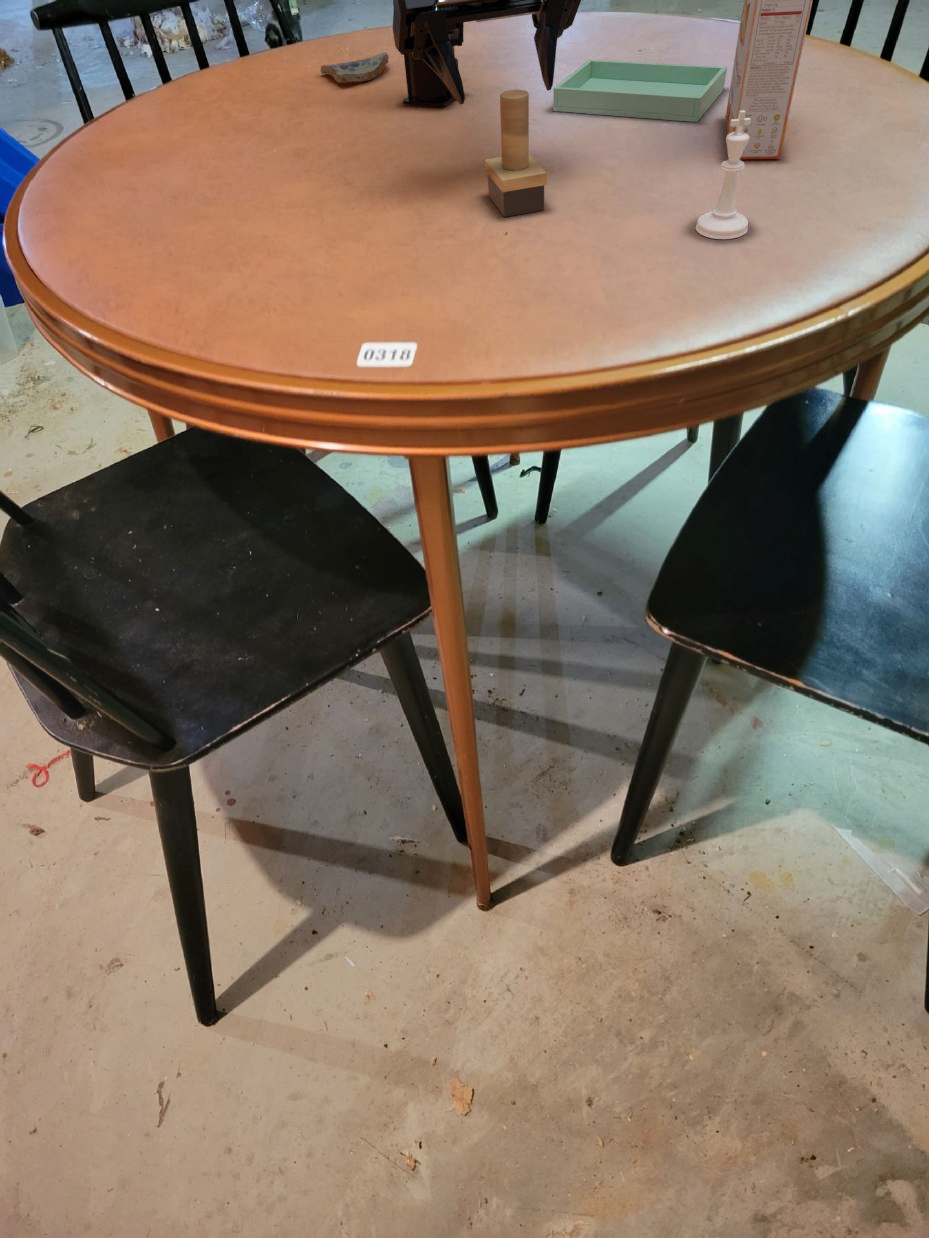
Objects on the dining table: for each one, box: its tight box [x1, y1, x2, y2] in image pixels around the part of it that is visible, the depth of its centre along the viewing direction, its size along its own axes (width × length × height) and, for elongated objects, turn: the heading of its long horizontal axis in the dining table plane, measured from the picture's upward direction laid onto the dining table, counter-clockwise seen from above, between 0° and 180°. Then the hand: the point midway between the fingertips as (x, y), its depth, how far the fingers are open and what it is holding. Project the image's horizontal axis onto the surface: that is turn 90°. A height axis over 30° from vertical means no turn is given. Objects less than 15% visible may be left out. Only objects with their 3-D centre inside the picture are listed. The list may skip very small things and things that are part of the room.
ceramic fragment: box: [319, 52, 390, 84], centre depth 118 cm, size 11×3×10 cm
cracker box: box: [725, 0, 813, 161], centre depth 83 cm, size 14×6×21 cm, turn 169°
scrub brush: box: [484, 89, 548, 218], centre depth 79 cm, size 6×5×10 cm
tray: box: [552, 59, 728, 123], centre depth 102 cm, size 19×13×3 cm
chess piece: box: [695, 110, 751, 240], centre depth 72 cm, size 5×5×10 cm
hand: (506, 94), depth 78 cm, fingers open, 9 cm apart
